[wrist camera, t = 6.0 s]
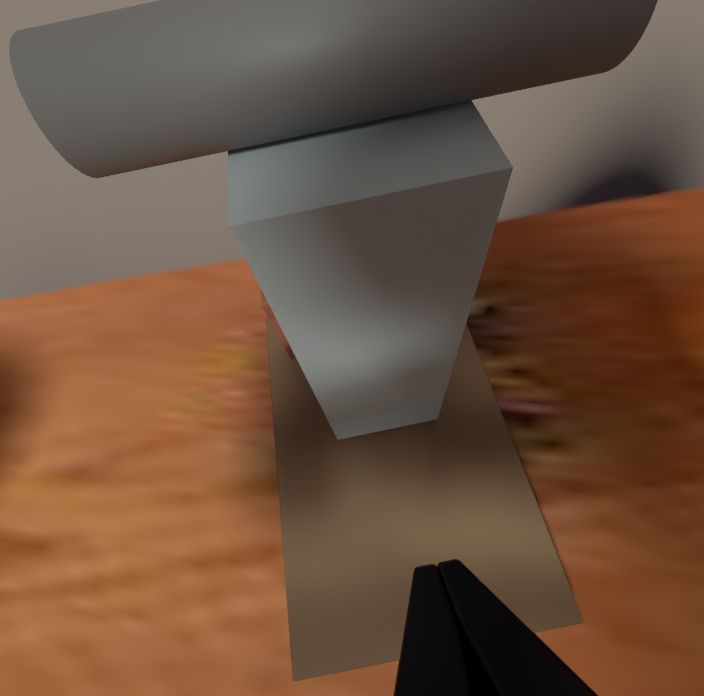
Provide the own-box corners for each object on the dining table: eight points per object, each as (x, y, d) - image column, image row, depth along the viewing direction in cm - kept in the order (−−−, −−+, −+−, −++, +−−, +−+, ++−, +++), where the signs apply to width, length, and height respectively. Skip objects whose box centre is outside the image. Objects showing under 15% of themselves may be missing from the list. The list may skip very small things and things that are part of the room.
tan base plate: (573, 618, 12) (671, 653, 8) (299, 674, 12) (244, 740, 8) (447, 291, 19) (463, 210, 14) (270, 327, 19) (232, 259, 14)
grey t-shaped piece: (487, 409, 15) (766, -42, 4) (287, 450, 15) (-42, 128, 4) (456, 325, 17) (574, -136, 6) (279, 361, 17) (48, -25, 6)
